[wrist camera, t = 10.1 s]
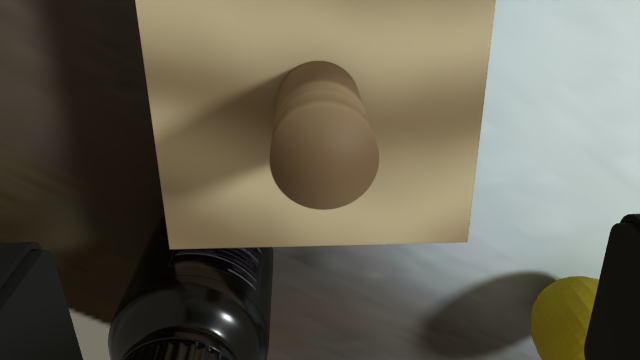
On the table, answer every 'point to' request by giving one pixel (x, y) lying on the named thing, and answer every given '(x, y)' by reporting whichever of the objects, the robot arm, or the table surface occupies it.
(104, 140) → the table surface
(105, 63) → the table surface
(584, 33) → the table surface
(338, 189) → the lid
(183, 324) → the supplement bottle
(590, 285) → the lemon
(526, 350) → the table surface
